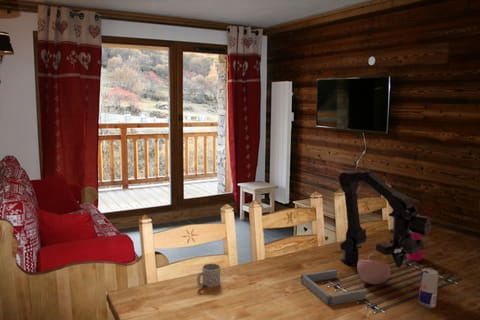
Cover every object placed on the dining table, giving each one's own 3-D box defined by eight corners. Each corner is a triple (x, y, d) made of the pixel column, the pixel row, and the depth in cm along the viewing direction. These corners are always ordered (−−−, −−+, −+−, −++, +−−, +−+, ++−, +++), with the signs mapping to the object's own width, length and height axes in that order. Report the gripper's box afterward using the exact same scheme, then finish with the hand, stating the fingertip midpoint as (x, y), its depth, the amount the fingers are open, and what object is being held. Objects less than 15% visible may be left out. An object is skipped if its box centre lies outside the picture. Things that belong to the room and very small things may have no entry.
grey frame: (300, 282, 157) (301, 274, 157) (334, 276, 163) (335, 269, 162) (328, 305, 139) (328, 297, 139) (365, 298, 145) (366, 290, 144)
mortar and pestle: (389, 279, 161) (390, 251, 159) (389, 292, 150) (391, 262, 148) (357, 274, 165) (358, 247, 163) (355, 287, 154) (357, 257, 152)
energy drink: (415, 300, 143) (418, 268, 142) (430, 300, 144) (432, 267, 142) (423, 308, 138) (426, 274, 136) (438, 307, 139) (441, 274, 137)
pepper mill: (424, 261, 179) (428, 217, 176) (407, 260, 180) (410, 216, 177) (420, 255, 186) (424, 212, 183) (404, 254, 187) (407, 211, 184)
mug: (212, 278, 160) (212, 262, 159) (223, 283, 155) (223, 267, 154) (191, 286, 153) (191, 269, 152) (203, 292, 148) (203, 274, 148)
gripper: (396, 238, 148) (393, 279, 150) (436, 233, 154) (433, 272, 156) (376, 229, 158) (373, 267, 160) (414, 224, 165) (411, 261, 167)
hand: (398, 267), depth 161 cm, fingers closed
